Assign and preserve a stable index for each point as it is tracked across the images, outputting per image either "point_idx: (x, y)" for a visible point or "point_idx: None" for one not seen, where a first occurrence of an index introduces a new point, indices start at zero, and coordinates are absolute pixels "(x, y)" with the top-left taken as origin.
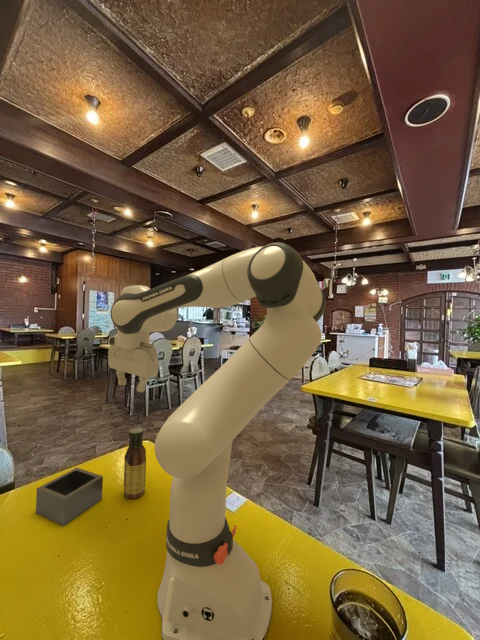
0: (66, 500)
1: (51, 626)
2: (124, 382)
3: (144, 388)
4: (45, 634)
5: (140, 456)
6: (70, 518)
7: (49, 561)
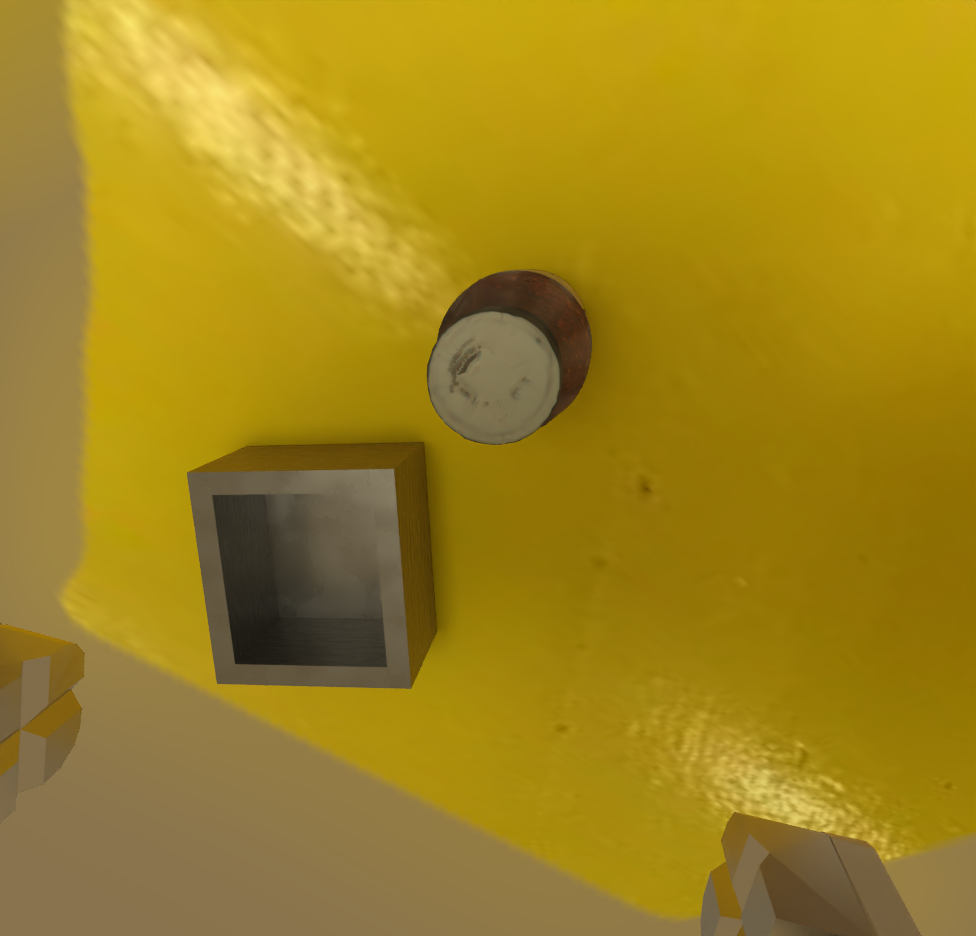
0: (413, 674)
1: None
2: (32, 704)
3: (882, 890)
4: None
5: (585, 377)
6: (432, 608)
7: (554, 754)
